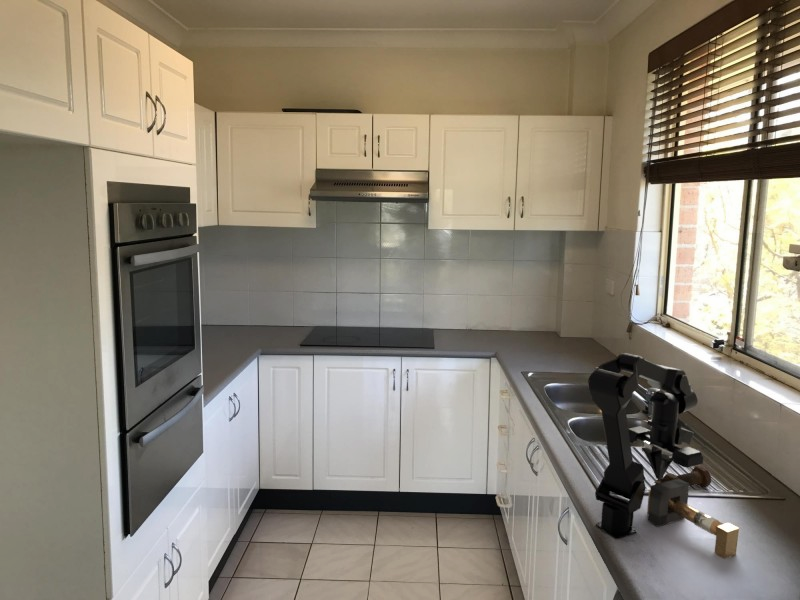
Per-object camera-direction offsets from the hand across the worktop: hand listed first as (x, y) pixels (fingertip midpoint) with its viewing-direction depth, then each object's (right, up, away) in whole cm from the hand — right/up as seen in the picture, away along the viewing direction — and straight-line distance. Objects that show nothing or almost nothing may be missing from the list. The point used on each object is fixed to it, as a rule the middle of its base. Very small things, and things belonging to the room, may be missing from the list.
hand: (659, 478), depth 148 cm
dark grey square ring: (-1, -8, -6) cm, 10 cm away
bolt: (+10, -6, +10) cm, 15 cm away
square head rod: (+2, -9, -11) cm, 14 cm away
